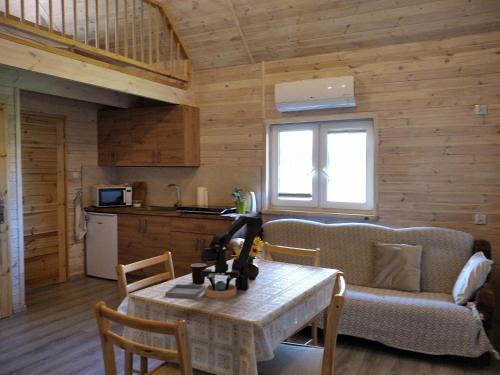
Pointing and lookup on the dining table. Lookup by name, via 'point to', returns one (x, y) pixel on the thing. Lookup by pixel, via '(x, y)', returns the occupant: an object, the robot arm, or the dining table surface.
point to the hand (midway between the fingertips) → (220, 290)
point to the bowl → (220, 292)
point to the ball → (220, 286)
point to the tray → (185, 291)
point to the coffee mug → (198, 273)
